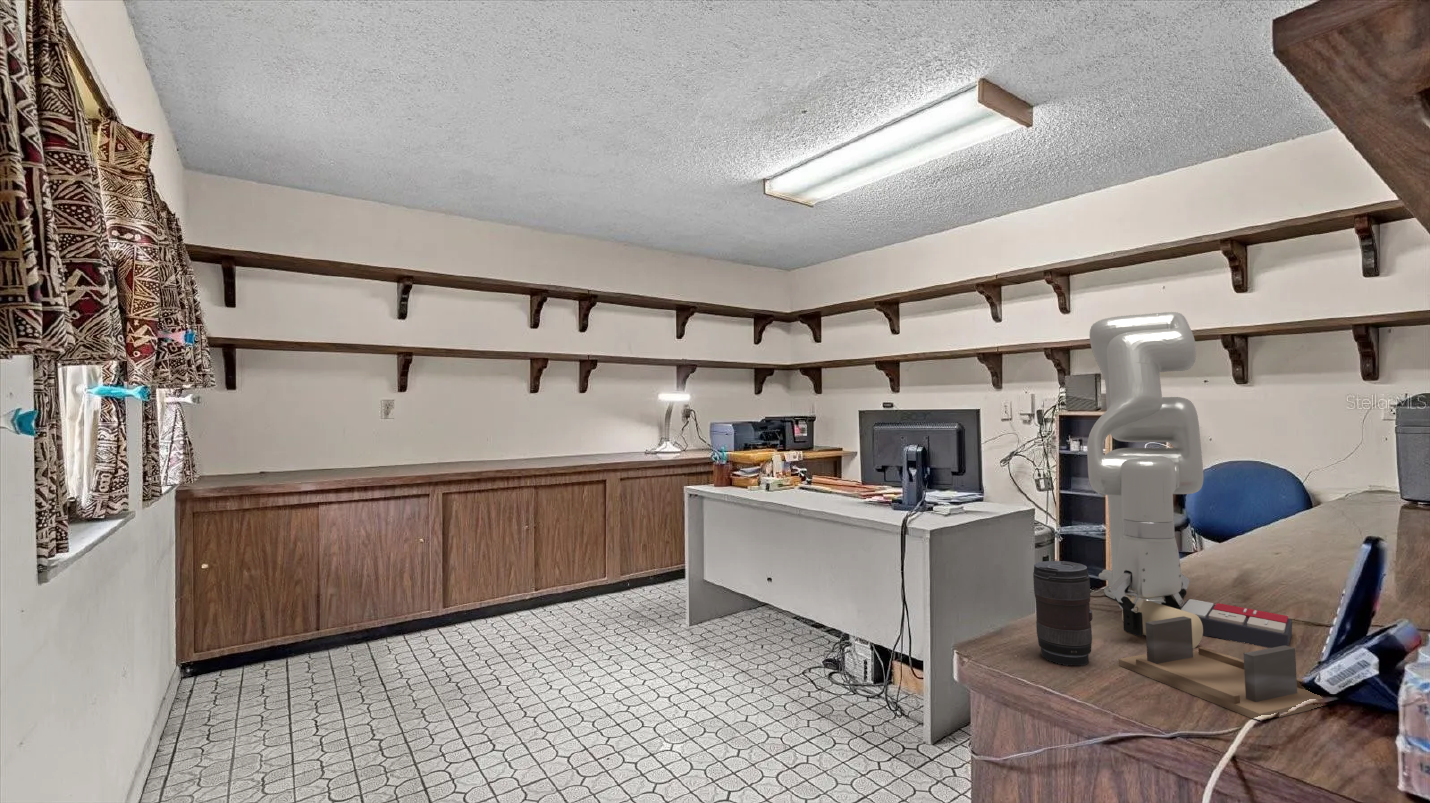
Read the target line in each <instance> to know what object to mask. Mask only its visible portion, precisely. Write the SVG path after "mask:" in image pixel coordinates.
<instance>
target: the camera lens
mask: <svg viewBox="0 0 1430 803" xmlns="http://www.w3.org/2000/svg"><path fill="white" fill-rule="evenodd" d="M1032 576H1033V592H1034V593H1033V594H1034V597H1035V612H1036V621H1035V622H1036V623H1035V625H1036V626H1035V627H1036V637H1037V643H1038V645H1039V647H1040V651H1041V657H1042V658H1044V657H1045V658H1046V659H1048V660H1050V661H1049V662H1051V661H1053V662H1056V663H1055V664H1057V663H1058V664H1057V665H1061V664H1063V665H1062V666H1068V665H1081V666H1086V665H1087V664H1088V663H1089V655H1090V654H1091V653H1092V643H1093V632H1092V621H1093V610H1092V609H1091V607H1090V606H1091V583H1090V582H1091V580H1090V575H1089V572H1088V567H1087V565H1085V564H1082V563H1079V562H1078V563H1077V562H1072V561H1065V560H1063V561H1061V560H1046V561H1044V560H1043V561H1039V562H1035V563H1034V564H1033V572H1032ZM1045 658H1044V659H1045ZM1046 659H1045V660H1046ZM1048 660H1047V661H1048ZM1053 662H1052V663H1053Z"/></svg>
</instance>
